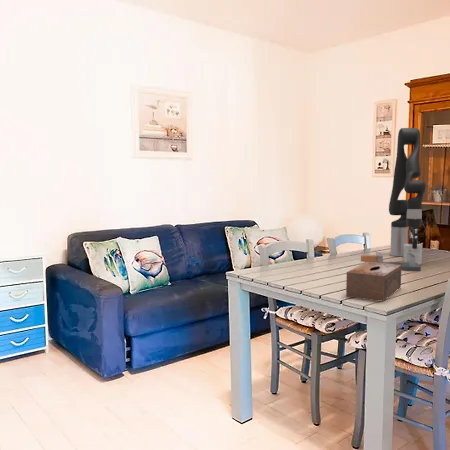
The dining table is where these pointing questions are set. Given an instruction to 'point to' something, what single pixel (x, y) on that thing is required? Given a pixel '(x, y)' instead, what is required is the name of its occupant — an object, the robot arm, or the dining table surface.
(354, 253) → the dining table surface
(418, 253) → the small box
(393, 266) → the tissue box cover
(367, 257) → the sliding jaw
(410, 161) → the robot arm
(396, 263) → the vise
